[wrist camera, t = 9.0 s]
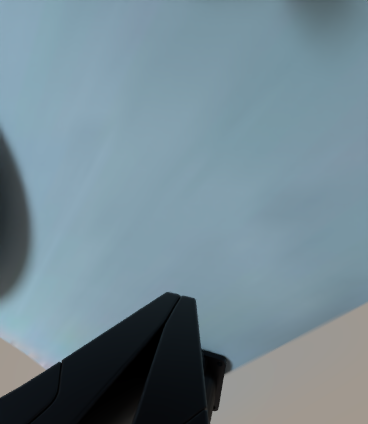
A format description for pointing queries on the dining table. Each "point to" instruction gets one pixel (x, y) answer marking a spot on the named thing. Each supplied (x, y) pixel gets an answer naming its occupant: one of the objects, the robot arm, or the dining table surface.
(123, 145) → the dining table surface
